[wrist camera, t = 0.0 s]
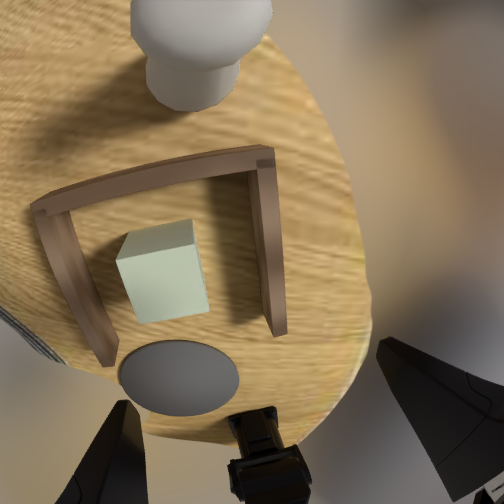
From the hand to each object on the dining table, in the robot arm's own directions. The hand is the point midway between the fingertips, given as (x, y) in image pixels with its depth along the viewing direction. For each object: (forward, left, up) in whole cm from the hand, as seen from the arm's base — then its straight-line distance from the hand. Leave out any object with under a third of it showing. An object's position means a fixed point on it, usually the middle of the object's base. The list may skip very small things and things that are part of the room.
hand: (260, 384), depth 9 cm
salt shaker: (+12, 0, -15) cm, 19 cm away
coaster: (-16, +7, -15) cm, 23 cm away
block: (-1, +4, -15) cm, 15 cm away
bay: (-1, +4, -15) cm, 15 cm away
